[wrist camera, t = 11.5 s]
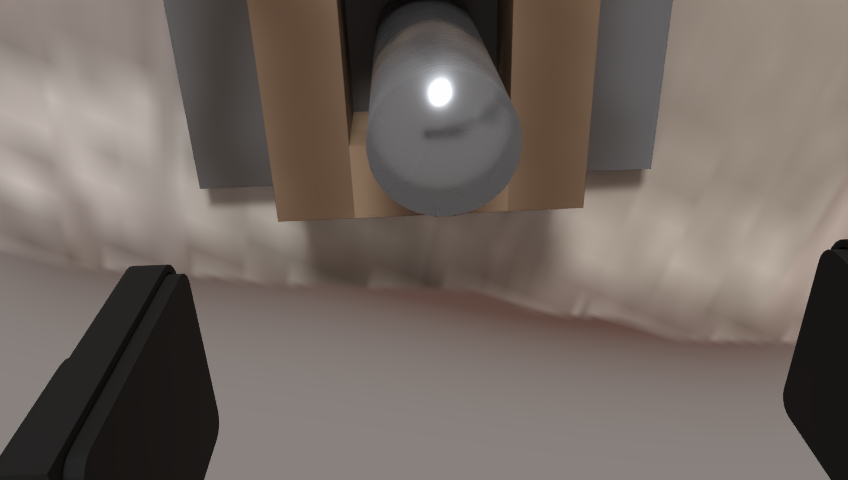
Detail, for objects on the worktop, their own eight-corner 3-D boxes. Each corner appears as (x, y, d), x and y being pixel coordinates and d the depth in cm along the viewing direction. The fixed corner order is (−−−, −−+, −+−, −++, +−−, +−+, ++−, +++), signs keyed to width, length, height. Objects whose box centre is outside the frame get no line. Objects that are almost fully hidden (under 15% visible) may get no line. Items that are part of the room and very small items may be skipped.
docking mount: (682, -147, 27) (738, -147, 23) (643, 160, 33) (682, 207, 29) (146, -129, 27) (98, -125, 22) (205, 179, 33) (176, 230, 28)
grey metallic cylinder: (474, -17, 28) (525, 66, 17) (474, 84, 30) (519, 213, 19) (372, -14, 28) (360, 72, 17) (378, 87, 30) (371, 219, 19)
